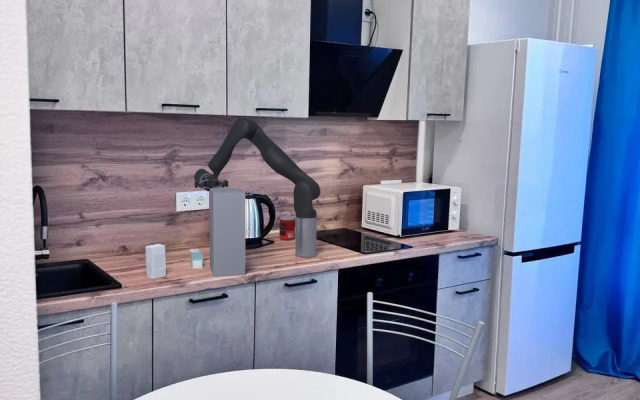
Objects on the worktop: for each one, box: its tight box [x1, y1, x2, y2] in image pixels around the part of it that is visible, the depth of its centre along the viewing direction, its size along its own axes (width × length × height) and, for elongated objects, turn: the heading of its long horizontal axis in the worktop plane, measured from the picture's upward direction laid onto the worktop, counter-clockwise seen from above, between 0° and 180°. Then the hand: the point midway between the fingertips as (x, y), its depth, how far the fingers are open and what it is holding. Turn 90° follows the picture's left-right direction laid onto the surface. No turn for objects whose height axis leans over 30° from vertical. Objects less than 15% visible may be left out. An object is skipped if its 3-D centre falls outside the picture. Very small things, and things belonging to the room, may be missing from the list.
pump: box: [189, 248, 204, 269], centre depth 250 cm, size 22×5×5 cm, turn 15°
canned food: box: [278, 215, 296, 242], centre depth 298 cm, size 8×8×11 cm
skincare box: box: [145, 243, 167, 280], centre depth 225 cm, size 6×4×12 cm
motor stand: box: [209, 187, 246, 277], centre depth 234 cm, size 14×12×32 cm
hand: (212, 185), depth 251 cm, fingers open, 8 cm apart
